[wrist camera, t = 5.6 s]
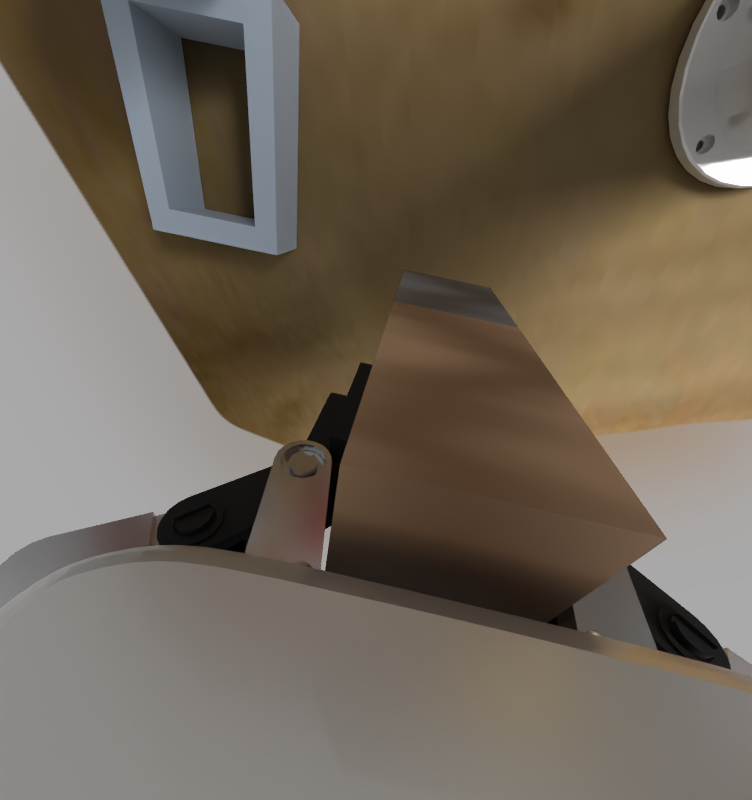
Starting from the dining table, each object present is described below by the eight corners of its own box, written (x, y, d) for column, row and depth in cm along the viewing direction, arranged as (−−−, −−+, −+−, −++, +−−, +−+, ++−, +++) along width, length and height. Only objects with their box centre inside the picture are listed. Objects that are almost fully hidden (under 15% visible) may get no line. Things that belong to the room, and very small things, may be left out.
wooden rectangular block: (490, 288, 13) (667, 538, 3) (443, 408, 17) (465, 680, 8) (404, 269, 13) (340, 463, 4) (378, 393, 17) (315, 643, 8)
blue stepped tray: (302, -170, 14) (-299, -2101, 2) (296, 248, 24) (182, 288, 12) (117, -207, 14) (-1399, -2282, 2) (189, 226, 24) (-24, 245, 12)
